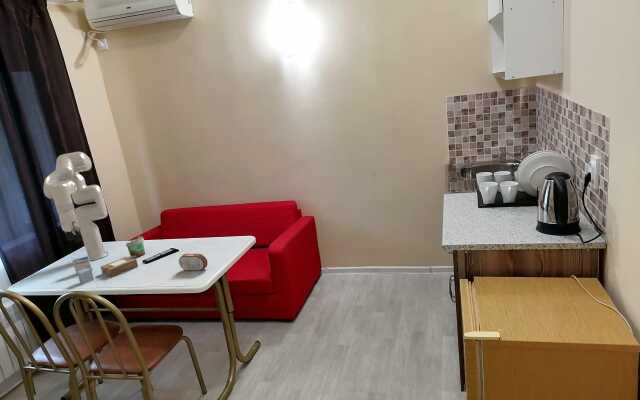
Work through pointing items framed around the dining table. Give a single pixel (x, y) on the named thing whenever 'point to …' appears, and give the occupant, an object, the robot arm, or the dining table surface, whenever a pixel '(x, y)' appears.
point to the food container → (136, 247)
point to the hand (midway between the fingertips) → (75, 241)
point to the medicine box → (82, 263)
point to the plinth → (119, 266)
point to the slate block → (85, 276)
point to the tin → (193, 262)
